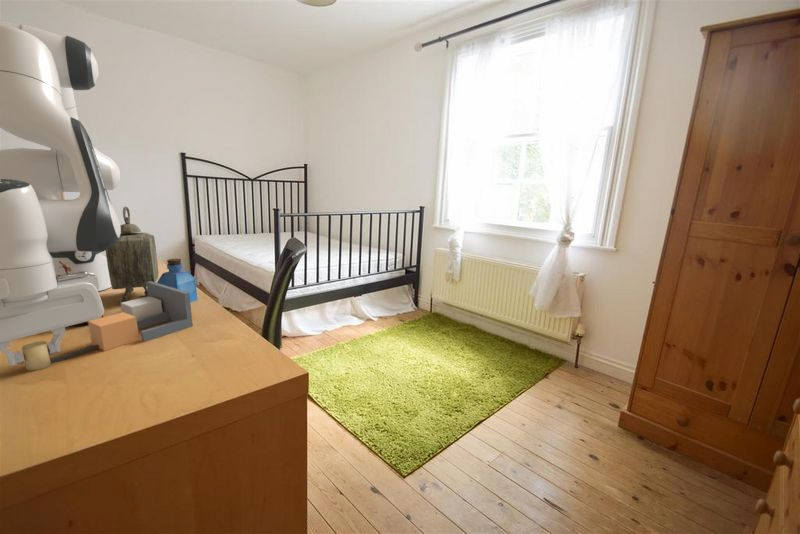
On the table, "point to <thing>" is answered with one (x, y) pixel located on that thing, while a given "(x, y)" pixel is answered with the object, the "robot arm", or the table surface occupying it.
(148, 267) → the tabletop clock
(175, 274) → the perfume bottle
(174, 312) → the lane rack
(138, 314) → the white block
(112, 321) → the tan block and knob
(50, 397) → the table surface
